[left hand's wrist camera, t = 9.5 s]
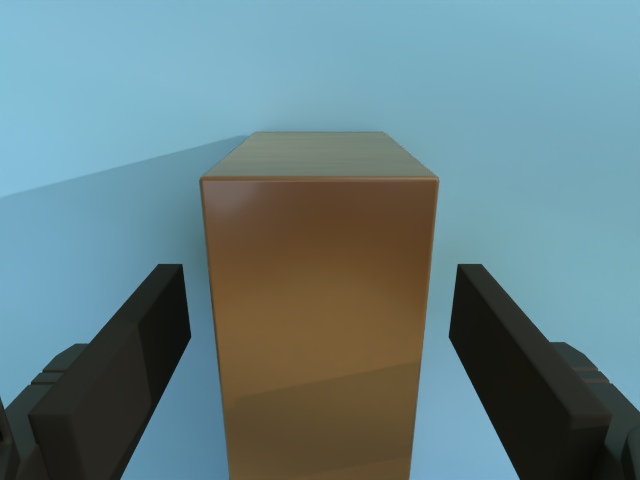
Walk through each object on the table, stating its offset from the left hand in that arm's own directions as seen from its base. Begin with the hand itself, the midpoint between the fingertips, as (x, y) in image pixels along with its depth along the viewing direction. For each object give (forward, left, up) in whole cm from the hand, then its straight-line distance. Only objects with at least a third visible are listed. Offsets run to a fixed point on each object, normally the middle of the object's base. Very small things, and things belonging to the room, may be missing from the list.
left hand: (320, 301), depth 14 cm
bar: (+27, +6, -3) cm, 28 cm away
